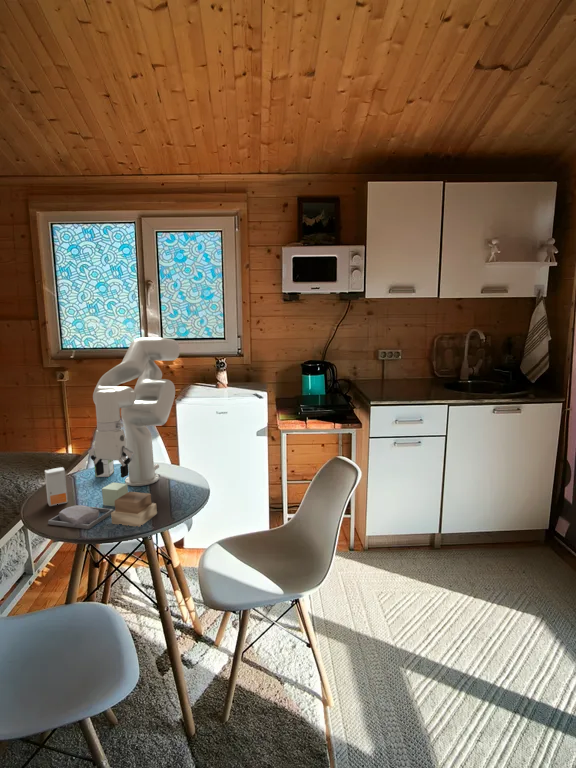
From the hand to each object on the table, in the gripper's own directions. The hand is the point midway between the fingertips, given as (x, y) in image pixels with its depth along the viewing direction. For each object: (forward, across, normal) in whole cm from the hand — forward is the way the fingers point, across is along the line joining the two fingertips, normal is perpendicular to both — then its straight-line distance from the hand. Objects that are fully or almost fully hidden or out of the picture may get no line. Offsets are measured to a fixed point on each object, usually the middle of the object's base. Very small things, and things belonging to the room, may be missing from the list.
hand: (112, 475), depth 174 cm
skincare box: (+10, +20, +4) cm, 23 cm away
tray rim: (+11, +3, +13) cm, 17 cm away
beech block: (+11, -14, +9) cm, 20 cm away
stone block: (+12, +3, +13) cm, 17 cm away
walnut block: (+7, -14, +9) cm, 18 cm away
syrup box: (+9, +22, -25) cm, 35 cm away
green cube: (+10, 0, -1) cm, 10 cm away
